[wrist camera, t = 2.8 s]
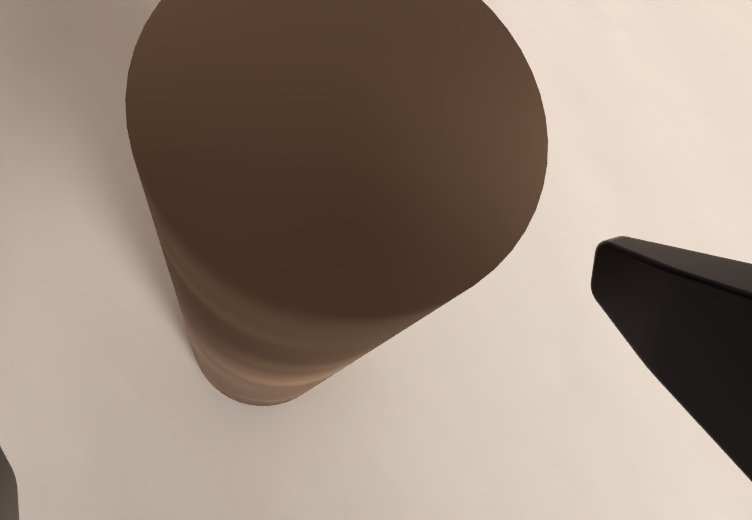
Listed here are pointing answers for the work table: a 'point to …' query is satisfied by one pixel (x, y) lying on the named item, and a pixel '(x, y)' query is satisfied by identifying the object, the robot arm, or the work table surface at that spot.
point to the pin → (328, 172)
